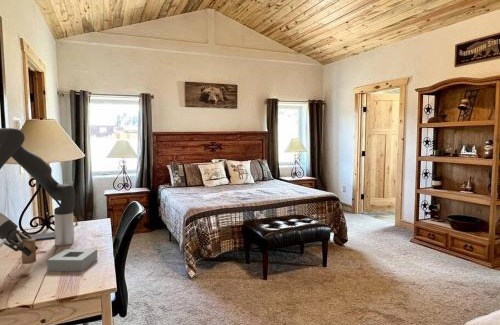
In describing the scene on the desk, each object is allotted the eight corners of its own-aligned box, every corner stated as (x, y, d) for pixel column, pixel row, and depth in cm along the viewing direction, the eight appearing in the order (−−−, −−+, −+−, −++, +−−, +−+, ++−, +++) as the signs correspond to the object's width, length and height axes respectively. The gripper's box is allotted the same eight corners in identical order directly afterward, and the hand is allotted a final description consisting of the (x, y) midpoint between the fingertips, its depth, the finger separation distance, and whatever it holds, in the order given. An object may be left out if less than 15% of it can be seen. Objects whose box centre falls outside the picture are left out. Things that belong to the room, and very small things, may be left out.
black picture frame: (23, 240, 183) (27, 233, 196) (23, 243, 183) (27, 236, 197) (63, 236, 192) (65, 230, 206) (63, 239, 192) (65, 233, 206)
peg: (27, 259, 143) (26, 238, 143) (38, 259, 143) (37, 238, 143) (19, 263, 138) (18, 242, 138) (31, 263, 138) (30, 242, 138)
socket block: (66, 259, 158) (66, 248, 158) (97, 259, 159) (97, 249, 158) (47, 271, 143) (47, 259, 143) (81, 271, 144) (81, 260, 143)
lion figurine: (59, 229, 212) (59, 215, 212) (54, 228, 214) (54, 214, 214) (80, 224, 225) (80, 211, 225) (75, 223, 228) (75, 210, 227)
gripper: (-2, 223, 131) (32, 251, 134) (16, 215, 145) (47, 240, 148) (-16, 237, 131) (18, 264, 134) (4, 227, 145) (34, 252, 148)
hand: (33, 252), depth 141 cm, fingers closed on peg, 5 cm apart
